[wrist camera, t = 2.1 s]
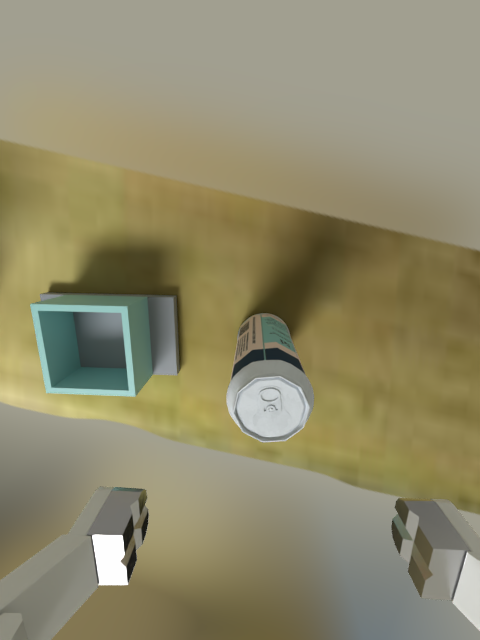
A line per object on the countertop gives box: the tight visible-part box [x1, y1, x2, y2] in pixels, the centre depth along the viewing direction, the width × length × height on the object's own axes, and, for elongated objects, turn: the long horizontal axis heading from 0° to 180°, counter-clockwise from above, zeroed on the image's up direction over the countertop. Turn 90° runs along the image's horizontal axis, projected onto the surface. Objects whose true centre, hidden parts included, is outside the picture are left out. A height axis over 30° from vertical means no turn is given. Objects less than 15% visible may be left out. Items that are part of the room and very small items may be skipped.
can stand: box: [30, 292, 180, 396], centre depth 24 cm, size 12×7×5 cm, turn 89°
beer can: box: [227, 313, 314, 442], centre depth 20 cm, size 5×5×12 cm
